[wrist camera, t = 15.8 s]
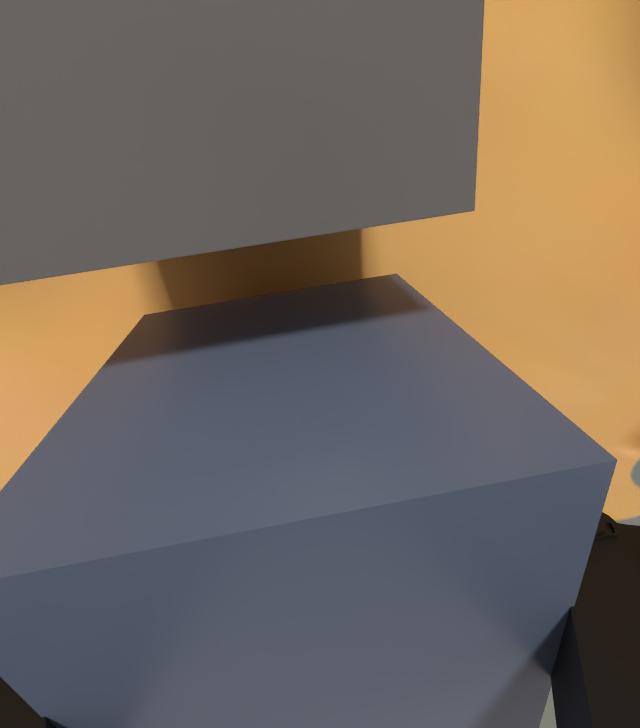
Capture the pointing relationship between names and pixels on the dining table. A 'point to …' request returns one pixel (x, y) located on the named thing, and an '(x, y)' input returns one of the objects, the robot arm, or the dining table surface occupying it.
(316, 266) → the dining table surface
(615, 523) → the robot arm
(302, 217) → the matte gray cube
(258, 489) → the slate blue cube
